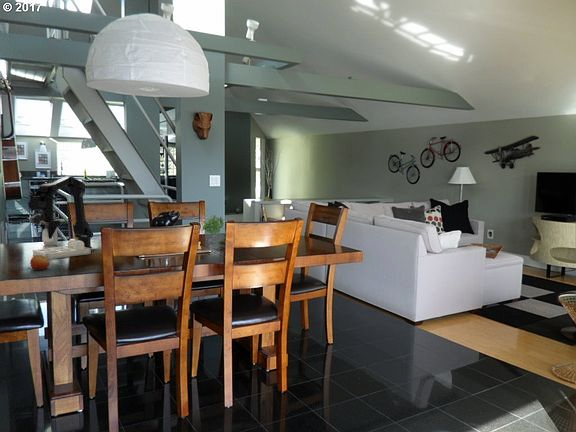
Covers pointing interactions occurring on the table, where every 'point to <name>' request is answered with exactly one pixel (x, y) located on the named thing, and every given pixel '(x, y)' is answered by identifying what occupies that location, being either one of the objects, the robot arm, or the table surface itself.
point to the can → (53, 240)
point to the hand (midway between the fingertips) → (48, 238)
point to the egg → (46, 236)
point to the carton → (64, 250)
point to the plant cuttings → (213, 226)
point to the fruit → (39, 263)
